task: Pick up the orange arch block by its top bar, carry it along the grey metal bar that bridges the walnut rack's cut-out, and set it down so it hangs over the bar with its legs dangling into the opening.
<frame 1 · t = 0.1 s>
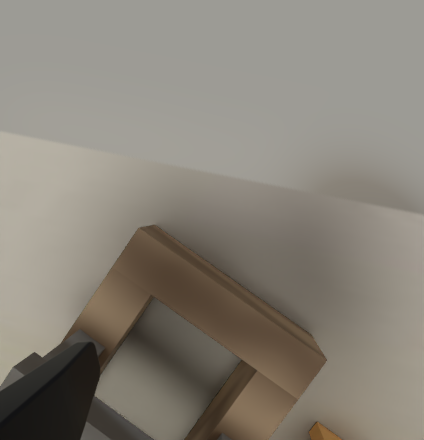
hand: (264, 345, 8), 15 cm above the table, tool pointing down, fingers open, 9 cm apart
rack: (167, 370, 24), on the table
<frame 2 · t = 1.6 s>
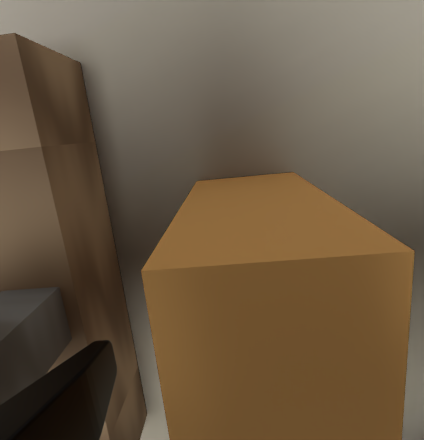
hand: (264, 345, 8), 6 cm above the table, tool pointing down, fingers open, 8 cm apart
orange arch block: (250, 255, 14), on the table
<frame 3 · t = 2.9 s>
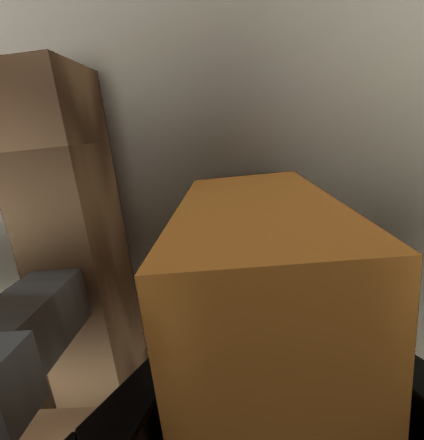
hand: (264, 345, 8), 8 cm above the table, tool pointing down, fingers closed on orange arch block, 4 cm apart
orange arch block: (249, 255, 14), point 2 cm above the table, touching gripper
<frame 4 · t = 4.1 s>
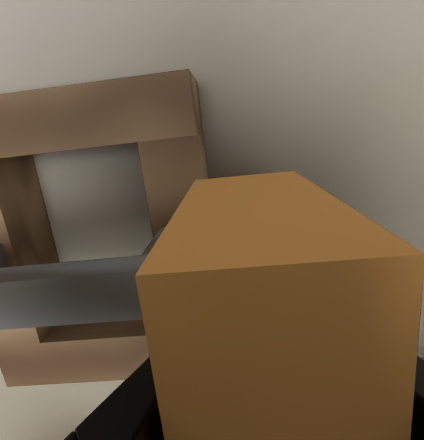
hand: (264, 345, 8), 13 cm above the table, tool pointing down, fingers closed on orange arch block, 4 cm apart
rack: (109, 230, 22), on the table
orange arch block: (249, 255, 14), point 7 cm above the table, touching gripper
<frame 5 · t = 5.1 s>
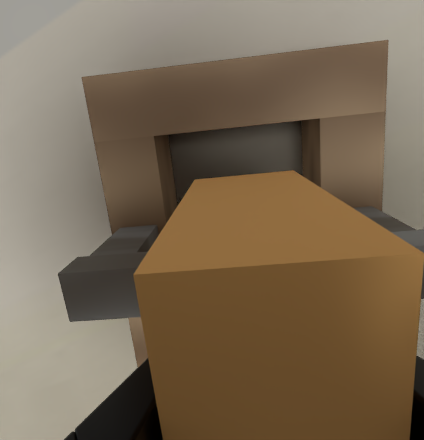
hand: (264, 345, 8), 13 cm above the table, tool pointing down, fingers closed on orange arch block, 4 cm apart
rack: (240, 216, 21), on the table
orange arch block: (249, 255, 14), point 7 cm above the table, touching gripper
when the fingers open (10 cm above the table, at t = 5.9 s): orange arch block drops 2 cm, resting on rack.
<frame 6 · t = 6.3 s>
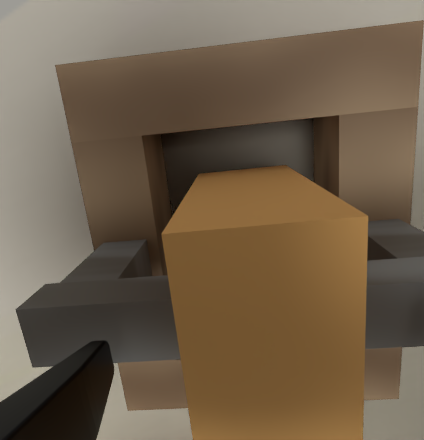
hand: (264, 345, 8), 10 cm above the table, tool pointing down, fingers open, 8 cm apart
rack: (243, 226, 18), on the table
orange arch block: (247, 240, 16), point 3 cm above the table, touching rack
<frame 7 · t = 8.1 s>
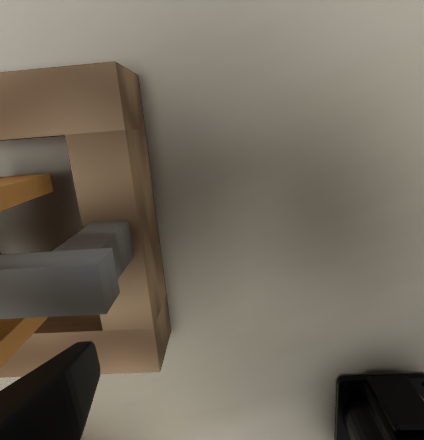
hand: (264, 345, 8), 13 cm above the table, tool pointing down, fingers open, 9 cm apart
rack: (51, 224, 21), on the table
orange arch block: (29, 236, 19), point 3 cm above the table, touching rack
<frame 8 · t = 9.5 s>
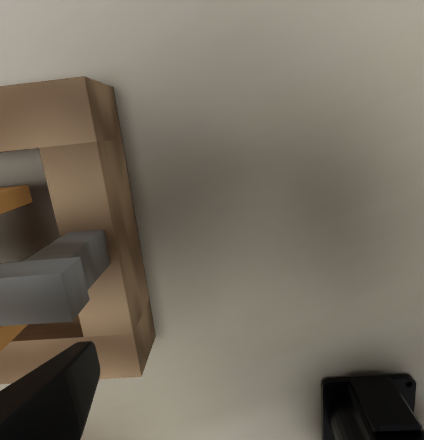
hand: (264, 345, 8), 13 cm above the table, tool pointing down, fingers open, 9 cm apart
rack: (35, 233, 22), on the table
orange arch block: (11, 246, 19), point 3 cm above the table, touching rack
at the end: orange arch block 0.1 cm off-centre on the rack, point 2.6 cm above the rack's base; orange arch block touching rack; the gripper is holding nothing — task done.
